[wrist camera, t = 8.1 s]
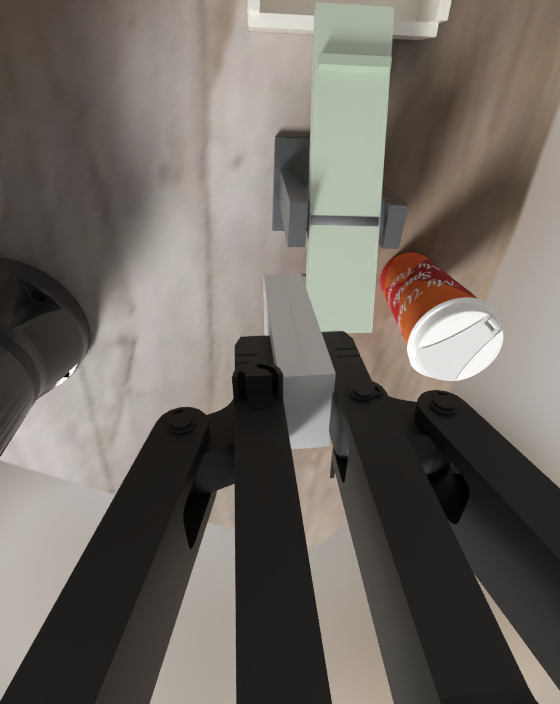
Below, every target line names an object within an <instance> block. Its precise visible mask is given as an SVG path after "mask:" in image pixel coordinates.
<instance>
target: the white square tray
mask: <svg viewBox="0 0 560 704" xmlns="http://www.w3.org/2000/svg"><path fill="white" fill-rule="evenodd" d="M451 1H452V0H248V31H257V32H275V33H294V34H312V35H313V29H314V10H315V6H316V2H319V3H335V4H352V5H369V6H385V7H395V8H394V23H393V37H392V39H404V40H424V39H429V38H434V37H436V35H437V30H438V25H439V23H441V22H444V21H447V20H448V15H449V10H450V6H451Z"/></svg>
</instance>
